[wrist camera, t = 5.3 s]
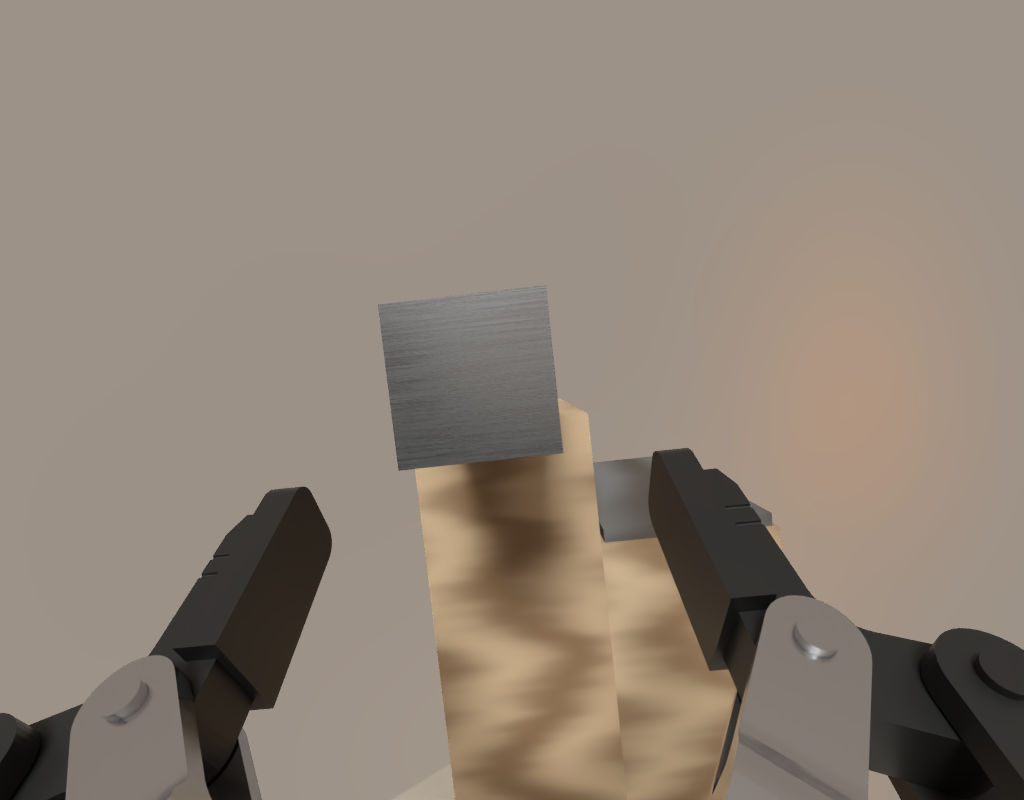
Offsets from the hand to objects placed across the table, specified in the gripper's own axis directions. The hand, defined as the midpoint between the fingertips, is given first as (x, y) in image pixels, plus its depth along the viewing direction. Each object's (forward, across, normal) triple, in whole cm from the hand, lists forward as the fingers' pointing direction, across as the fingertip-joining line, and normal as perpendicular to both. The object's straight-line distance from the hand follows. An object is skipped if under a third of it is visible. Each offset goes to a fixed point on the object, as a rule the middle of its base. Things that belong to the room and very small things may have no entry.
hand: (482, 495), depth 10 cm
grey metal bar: (+11, 0, +6) cm, 12 cm away
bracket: (-1, -4, +35) cm, 36 cm away
